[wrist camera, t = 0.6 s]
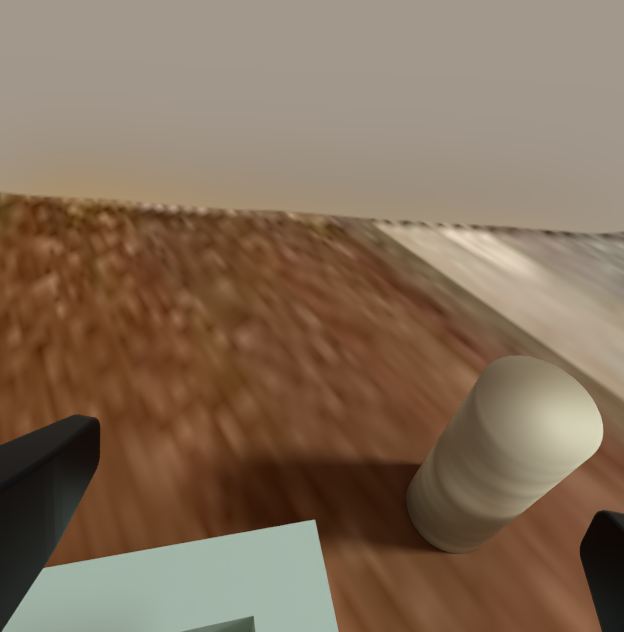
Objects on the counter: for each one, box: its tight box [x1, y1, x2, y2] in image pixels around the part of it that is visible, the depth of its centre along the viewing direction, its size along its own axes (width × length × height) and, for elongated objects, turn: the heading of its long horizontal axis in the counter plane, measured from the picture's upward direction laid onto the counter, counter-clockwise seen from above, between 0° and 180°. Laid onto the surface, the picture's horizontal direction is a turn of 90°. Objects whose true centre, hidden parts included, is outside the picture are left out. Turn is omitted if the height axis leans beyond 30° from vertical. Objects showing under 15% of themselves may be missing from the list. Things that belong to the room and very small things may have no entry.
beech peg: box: [406, 356, 603, 554], centre depth 21 cm, size 4×4×10 cm
